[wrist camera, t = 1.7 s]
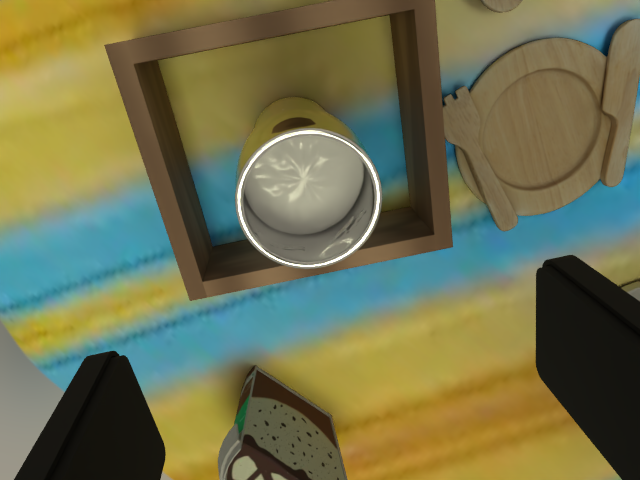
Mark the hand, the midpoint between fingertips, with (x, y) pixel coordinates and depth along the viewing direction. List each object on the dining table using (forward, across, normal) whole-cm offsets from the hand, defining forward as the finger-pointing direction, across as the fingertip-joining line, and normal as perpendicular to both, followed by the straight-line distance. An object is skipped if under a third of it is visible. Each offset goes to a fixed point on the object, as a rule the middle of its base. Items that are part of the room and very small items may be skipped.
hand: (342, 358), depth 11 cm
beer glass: (+26, 0, 0) cm, 26 cm away
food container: (+26, +7, +24) cm, 37 cm away
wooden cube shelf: (+26, 0, 0) cm, 26 cm away
